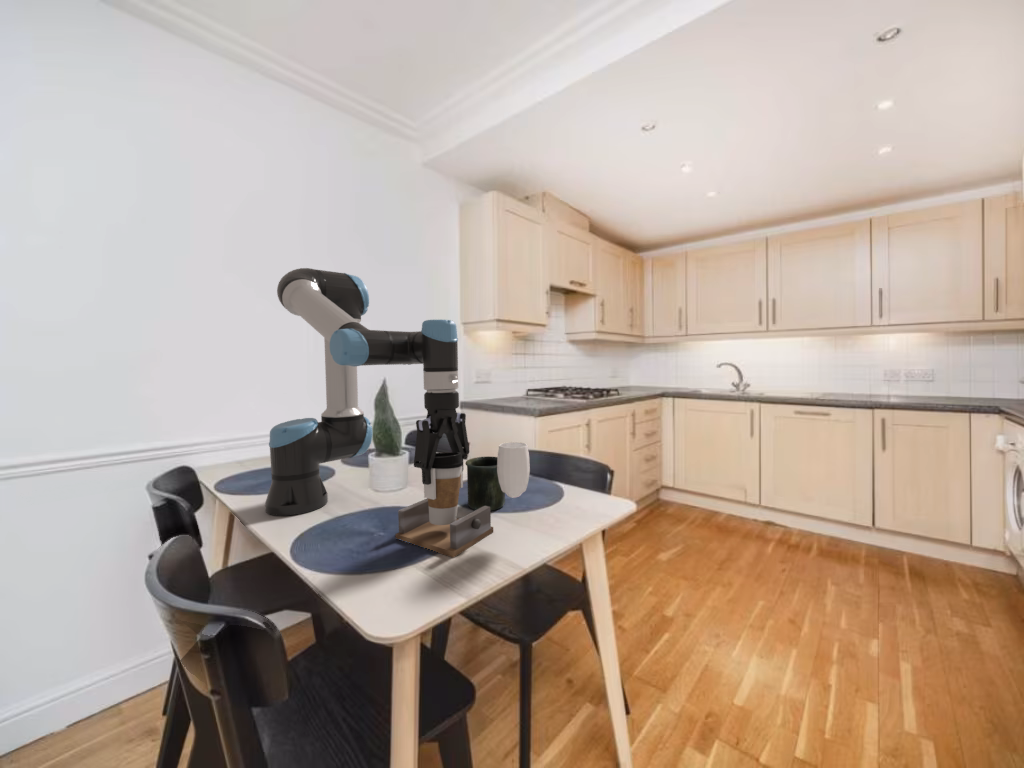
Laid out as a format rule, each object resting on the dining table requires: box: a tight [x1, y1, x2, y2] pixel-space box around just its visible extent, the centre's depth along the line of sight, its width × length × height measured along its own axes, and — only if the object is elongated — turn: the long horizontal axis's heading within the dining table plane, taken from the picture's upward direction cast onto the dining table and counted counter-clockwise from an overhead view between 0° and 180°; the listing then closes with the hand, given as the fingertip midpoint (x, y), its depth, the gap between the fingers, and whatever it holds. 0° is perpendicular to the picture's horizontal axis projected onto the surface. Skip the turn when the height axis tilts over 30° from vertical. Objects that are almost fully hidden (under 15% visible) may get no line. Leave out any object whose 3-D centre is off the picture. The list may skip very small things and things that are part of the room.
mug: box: [465, 456, 506, 512], centre depth 113 cm, size 11×15×12 cm
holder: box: [395, 498, 494, 558], centre depth 93 cm, size 19×14×6 cm
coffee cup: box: [427, 451, 464, 525], centre depth 92 cm, size 8×8×15 cm
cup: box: [496, 441, 531, 499], centre depth 91 cm, size 7×7×21 cm
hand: (444, 492), depth 92 cm, fingers closed on coffee cup, 8 cm apart
